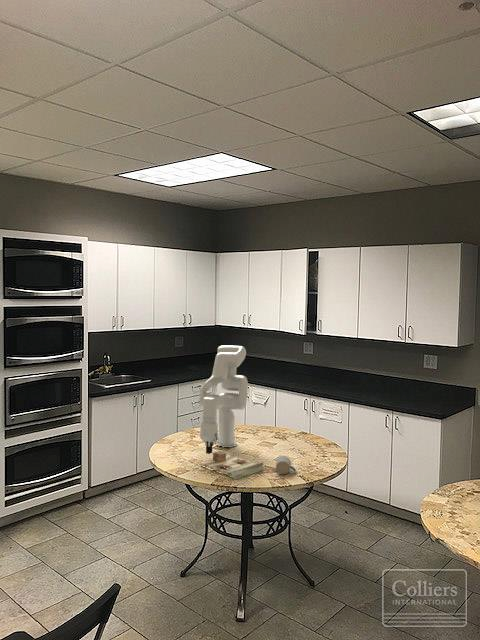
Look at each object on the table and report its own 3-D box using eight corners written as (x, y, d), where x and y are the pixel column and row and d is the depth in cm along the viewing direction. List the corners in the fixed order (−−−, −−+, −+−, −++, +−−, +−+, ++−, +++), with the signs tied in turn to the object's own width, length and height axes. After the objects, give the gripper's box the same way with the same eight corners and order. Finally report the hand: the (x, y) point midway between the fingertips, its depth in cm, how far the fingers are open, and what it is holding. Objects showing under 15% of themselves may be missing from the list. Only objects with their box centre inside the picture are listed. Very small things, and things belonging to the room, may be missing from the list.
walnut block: (212, 460, 285) (212, 452, 285) (219, 458, 288) (219, 450, 288) (219, 462, 281) (219, 454, 281) (226, 460, 285) (226, 452, 285)
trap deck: (201, 466, 280) (201, 459, 280) (228, 458, 295) (228, 451, 294) (235, 479, 262) (235, 471, 262) (262, 469, 276) (263, 462, 276)
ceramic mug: (275, 474, 269) (275, 460, 269) (276, 469, 277) (276, 455, 277) (296, 476, 268) (296, 461, 267) (296, 470, 276) (296, 456, 276)
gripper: (195, 418, 292) (194, 451, 292) (213, 423, 281) (213, 457, 282) (205, 416, 297) (205, 449, 298) (224, 421, 287) (223, 454, 287)
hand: (209, 453), depth 290 cm, fingers closed
